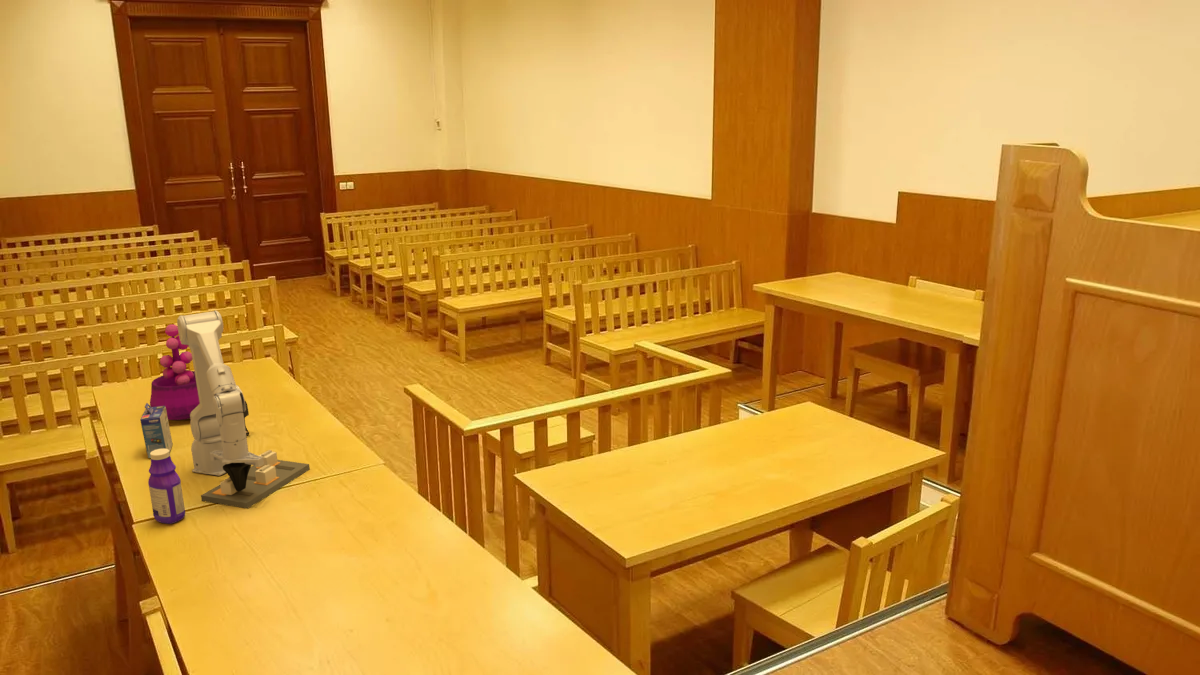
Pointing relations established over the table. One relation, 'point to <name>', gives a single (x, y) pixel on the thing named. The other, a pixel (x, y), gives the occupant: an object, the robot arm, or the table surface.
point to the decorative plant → (175, 381)
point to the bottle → (165, 488)
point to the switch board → (257, 485)
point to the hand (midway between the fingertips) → (240, 489)
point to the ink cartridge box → (156, 429)
